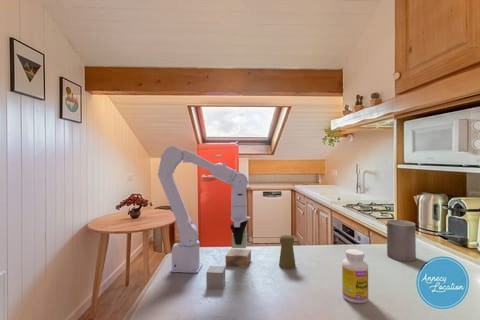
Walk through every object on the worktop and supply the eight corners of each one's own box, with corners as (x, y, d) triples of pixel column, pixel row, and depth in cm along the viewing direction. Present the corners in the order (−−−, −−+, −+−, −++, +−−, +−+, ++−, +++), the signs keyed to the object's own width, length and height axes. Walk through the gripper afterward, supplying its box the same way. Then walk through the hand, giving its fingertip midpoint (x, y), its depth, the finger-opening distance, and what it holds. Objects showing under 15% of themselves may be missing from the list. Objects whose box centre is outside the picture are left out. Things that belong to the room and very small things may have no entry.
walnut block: (225, 266, 99) (225, 255, 99) (231, 258, 107) (230, 248, 107) (247, 268, 98) (246, 257, 98) (250, 260, 106) (250, 250, 106)
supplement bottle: (355, 306, 71) (355, 257, 71) (337, 295, 77) (336, 249, 77) (374, 301, 73) (373, 253, 74) (354, 290, 80) (354, 246, 80)
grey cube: (206, 288, 82) (206, 272, 82) (209, 281, 87) (209, 265, 87) (222, 289, 81) (222, 272, 81) (225, 281, 86) (225, 266, 86)
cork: (295, 269, 95) (295, 238, 95) (278, 268, 96) (278, 237, 96) (295, 263, 101) (295, 233, 101) (279, 262, 102) (279, 233, 102)
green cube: (232, 248, 98) (231, 234, 98) (233, 243, 103) (233, 230, 103) (245, 248, 97) (245, 234, 97) (247, 244, 102) (246, 230, 102)
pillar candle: (384, 252, 112) (384, 216, 112) (411, 254, 110) (410, 216, 110) (390, 260, 103) (390, 221, 103) (420, 263, 100) (419, 222, 100)
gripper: (248, 208, 93) (248, 248, 93) (251, 202, 107) (251, 236, 107) (227, 208, 93) (228, 248, 93) (233, 202, 108) (233, 236, 108)
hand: (239, 242), depth 100 cm, fingers closed on green cube, 5 cm apart
